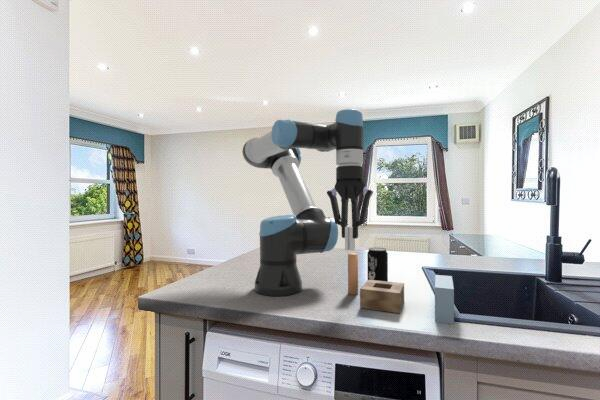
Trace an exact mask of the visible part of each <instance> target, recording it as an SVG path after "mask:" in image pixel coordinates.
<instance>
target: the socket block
mask: <svg viewBox="0 0 600 400" xmlns="http://www.w3.org/2000/svg"><path fill="white" fill-rule="evenodd" d="M404 303H405V283H404V282H393V281H388V282H387V281H377V280H368V279H366V281H365V282H364V284H362V286H360V288H359V308H360V309H367V310H373V311H380V312H388V313H394V314H401V311H402V308H403V306H404Z"/></svg>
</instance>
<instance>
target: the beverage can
mask: <svg viewBox="0 0 600 400" xmlns="http://www.w3.org/2000/svg"><path fill="white" fill-rule="evenodd" d="M388 254H389V253H388V252H387V248H385V247H369V248H368V251H367V280H377V281H387V282H389V281H388V280H389V276H388V275H389V274H388V273H389V270H388V269H389V266H388V265H389V263H388V261H389V260H388V259H389V255H388Z"/></svg>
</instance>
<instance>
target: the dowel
mask: <svg viewBox="0 0 600 400" xmlns="http://www.w3.org/2000/svg"><path fill="white" fill-rule="evenodd" d="M347 294H349V295H351V296H357V295H359V254H358V253H355V252H349V253H348V254H347Z"/></svg>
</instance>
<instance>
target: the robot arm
mask: <svg viewBox="0 0 600 400" xmlns="http://www.w3.org/2000/svg"><path fill="white" fill-rule="evenodd" d="M363 117H364V116H363V112H361V110H359V109H356V108H354V109H353V108H346V109H341V110H338V111H337V112H336V115H335V122H333V123H332V124H321V123H320V124H319V123H312V122H311V123H310V122H304V121H296V120H290V119H276V121H275V122H274V123H273V124H272V128H271V131H269V132H267V133H266V134H263V135H262V136H260V137H253V138H250V139H249V140H247V141H246V142H245V143H244V145H243V146H242V151H241V152H242V156H243V159H244V160H245V162H246V163H247V164H249V165H250V166H252V167H254V168H258V169H267V170H268V169H270V170H271V171H272V174H273V175H274V176H275V177H277V178H278V179H279V182H280V185H281V187H282V189H283V192H284V195H285V197H286V199H287V201H288V204H289V207H290V210H291V211H292V214H284V215H277V216H270V217H267V218H264V219H262V220H261V222H260V223H259V233H258V234H259V269H258V271H257V275H256V278H255V280H254V291H255V292H256V293H257V294H260V295H262V296H271V297H282V296H290V295H294V294H297V293H300V292H301V291H302V290H303V281H302V277H301V275H300V272H299V267H298V265H297V255H305V254H306V255H307V254H308V255H309V254H317V253H320V254H321V253H322V254H323V253H326V252H330V251H332V250H333V249H334V248H335V246H336V245H337V243H338V239H339V238H338V237H339V226H340V228H341V239H344V250H345V251H354V250H356V246H355V245H356V244H355V240H356V239H358V238H359V227H360V226H362V225H364V224H365V223H366V218H367V215H368V214H367V213H368V208H369V205H370V199H371V197H372V196H373V194H374V191H373V190H372V189H369V188H367V187H366V184H365V182H364V167H363V166H362V165H363V164H364V121H363V120H364V119H363ZM301 149H308V150H316V151H318V152H321V153H325V152H330V151H334V150H335V157H336V158H335V159H336V160H335V161H336V163H335V164H336V166H337V167H336V168H335V175H336V176H335V179H336V180H335V184H334V187H333V188H332V189H330V190H327V191H326V194H327V196H328V198H329V200H330V206H331V210H332V215H333V217H330V216H328V217H326V215H325V213H324V211H323V209H321V208H320V207H317V206H316V203H315V201H314V200H313V197H312V195H311V193H310V191H309V189H308V187H307V184H306V182H305V180H304V179H303V176H302V174H301V172H300V170H299V167H300V164H301V161H302V156H301V151H300V150H301ZM337 194H338V195H339V196H340V198H341V199H340V201H341V209H340V208H339V203H338V198H337ZM361 194H363V200H362V205H361V209H360V214H359V197H360V196H361ZM349 201H350V202H351V203H350V204H351V226H350V225H349V223H348V220H349V219H348V218H349V215H348V214H349ZM340 210H341V212H340ZM338 225H339V226H338Z"/></svg>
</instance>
